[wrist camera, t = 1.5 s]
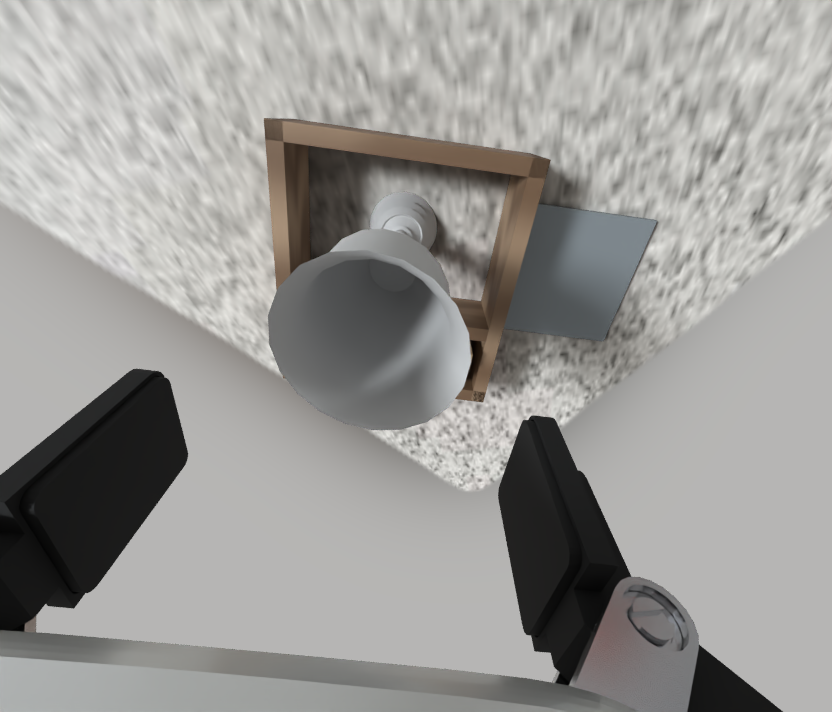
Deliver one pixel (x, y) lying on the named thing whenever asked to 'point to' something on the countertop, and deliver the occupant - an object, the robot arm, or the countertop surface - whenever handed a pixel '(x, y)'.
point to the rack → (526, 169)
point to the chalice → (374, 324)
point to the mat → (576, 271)
